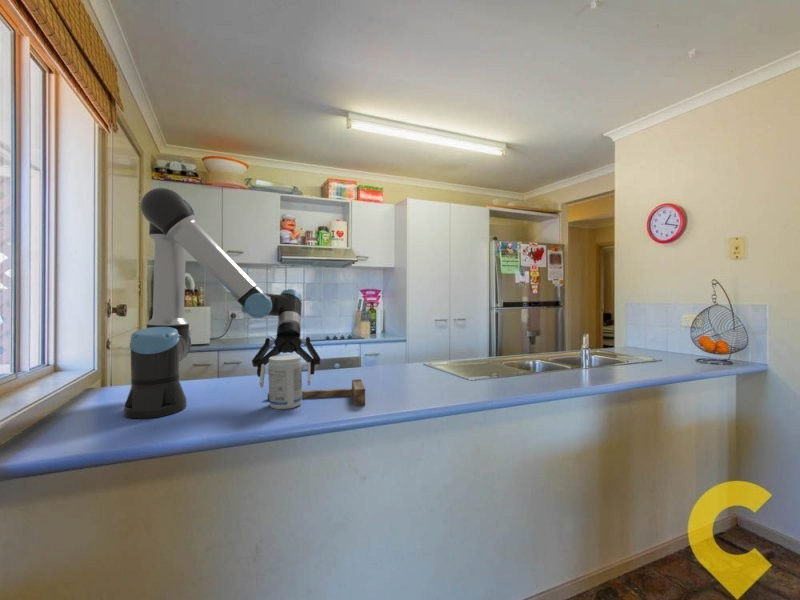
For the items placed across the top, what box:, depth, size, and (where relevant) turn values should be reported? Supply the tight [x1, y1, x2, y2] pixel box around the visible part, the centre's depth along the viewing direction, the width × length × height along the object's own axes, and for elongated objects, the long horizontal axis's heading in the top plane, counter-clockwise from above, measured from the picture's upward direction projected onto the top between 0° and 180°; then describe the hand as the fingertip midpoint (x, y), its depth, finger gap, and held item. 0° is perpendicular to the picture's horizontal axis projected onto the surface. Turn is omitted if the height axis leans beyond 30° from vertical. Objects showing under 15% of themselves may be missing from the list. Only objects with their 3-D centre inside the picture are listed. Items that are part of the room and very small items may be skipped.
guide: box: [267, 378, 366, 407], centre depth 119 cm, size 30×13×5 cm, turn 101°
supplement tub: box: [267, 353, 303, 410], centre depth 115 cm, size 10×10×15 cm
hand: (285, 384), depth 113 cm, fingers open, 13 cm apart
